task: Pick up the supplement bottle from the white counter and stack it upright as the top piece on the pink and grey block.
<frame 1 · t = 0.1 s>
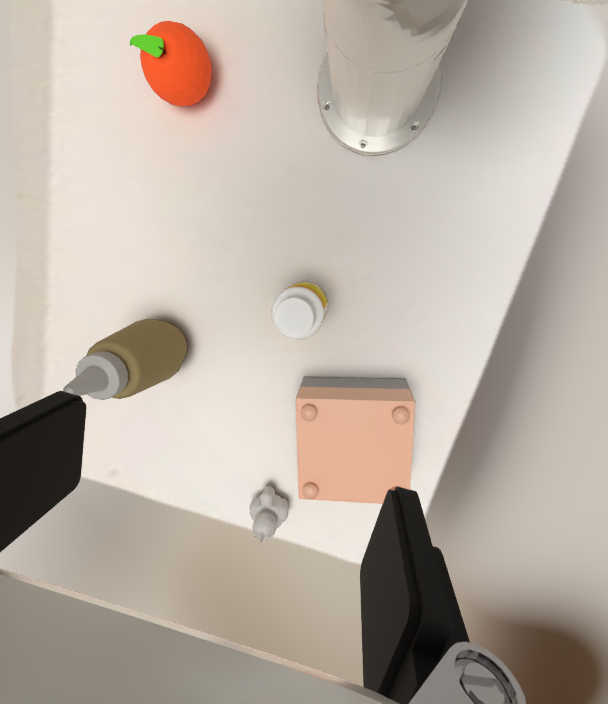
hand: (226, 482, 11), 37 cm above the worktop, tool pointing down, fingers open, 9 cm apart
supplement bottle: (306, 303, 46), on the worktop
pink and grey block: (353, 423, 49), on the worktop
squeeze bottle: (167, 343, 50), on the worktop
clementine: (187, 80, 41), on the worktop
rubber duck: (272, 497, 54), on the worktop
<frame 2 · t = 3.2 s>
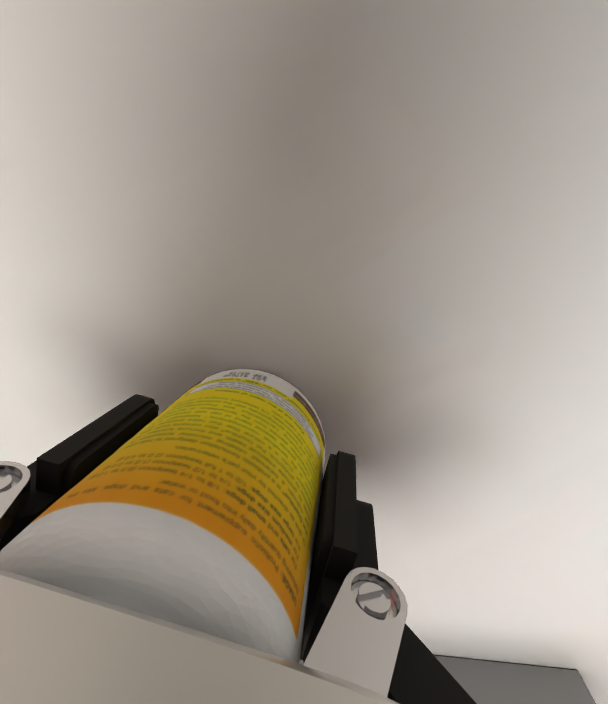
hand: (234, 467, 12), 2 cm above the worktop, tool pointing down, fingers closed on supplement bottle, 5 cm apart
supplement bottle: (253, 433, 14), on the worktop, touching gripper
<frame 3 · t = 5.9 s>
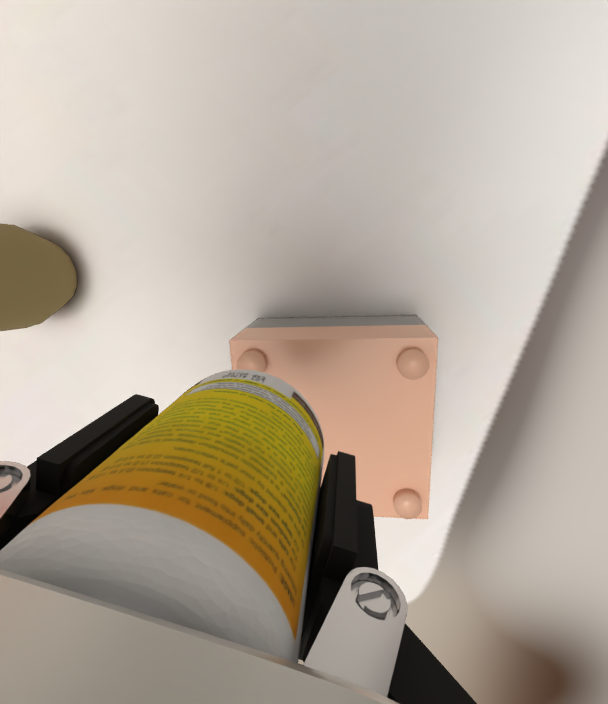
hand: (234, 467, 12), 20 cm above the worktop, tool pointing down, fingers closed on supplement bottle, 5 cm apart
supplement bottle: (252, 434, 14), point 18 cm above the worktop, touching gripper
pink and grey block: (336, 390, 32), on the worktop
squeeze bottle: (49, 273, 32), on the worktop
when the fingers open (11 cm above the worktop, at t = 8.7 s): supplement bottle drops 1 cm, resting on pink and grey block.
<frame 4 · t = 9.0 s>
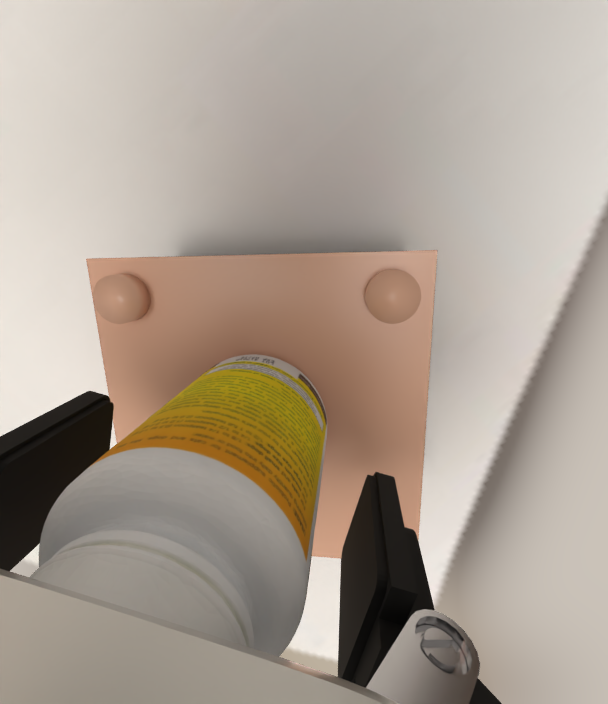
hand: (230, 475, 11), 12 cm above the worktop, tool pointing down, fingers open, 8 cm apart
supplement bottle: (261, 414, 15), point 7 cm above the worktop, touching pink and grey block
pink and grey block: (290, 366, 22), on the worktop
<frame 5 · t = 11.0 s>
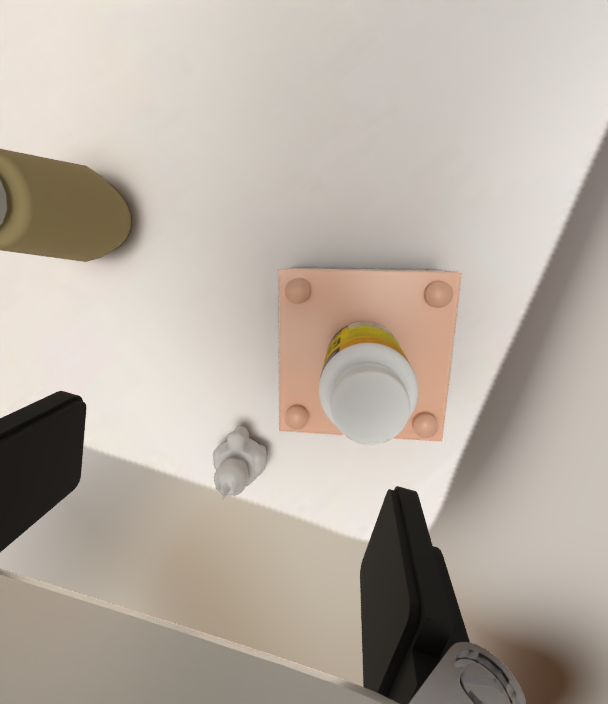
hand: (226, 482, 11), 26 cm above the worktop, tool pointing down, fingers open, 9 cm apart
supplement bottle: (362, 355, 28), point 7 cm above the worktop, touching pink and grey block
pink and grey block: (360, 337, 35), on the worktop
squeeze bottle: (105, 218, 36), on the worktop
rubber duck: (246, 445, 40), on the worktop
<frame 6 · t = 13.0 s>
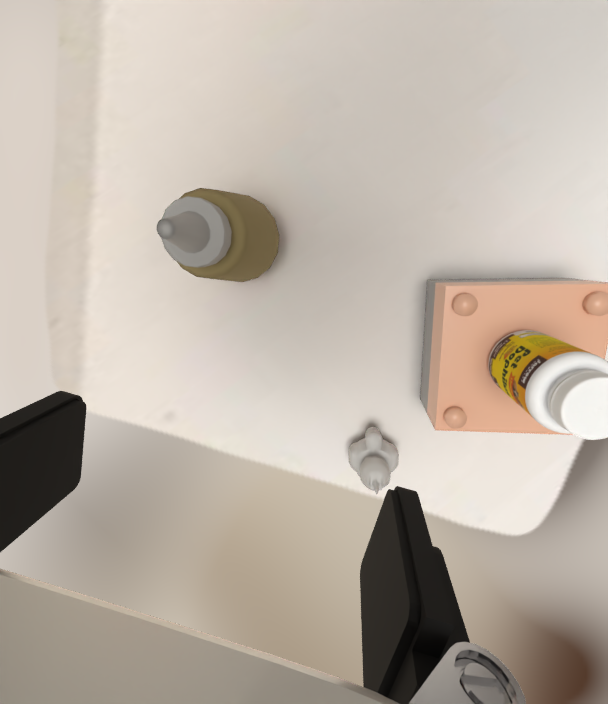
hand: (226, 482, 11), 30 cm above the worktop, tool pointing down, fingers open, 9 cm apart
supplement bottle: (518, 360, 31), point 7 cm above the worktop, touching pink and grey block
pink and grey block: (487, 342, 38), on the worktop
squeeze bottle: (248, 240, 39), on the worktop
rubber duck: (371, 444, 43), on the worktop
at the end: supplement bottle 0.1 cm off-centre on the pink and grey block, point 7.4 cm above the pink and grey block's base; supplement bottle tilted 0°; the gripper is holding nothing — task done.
